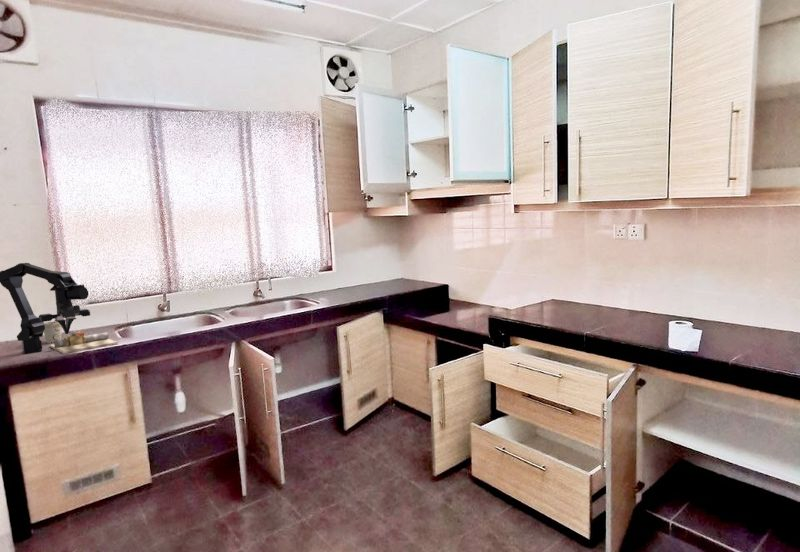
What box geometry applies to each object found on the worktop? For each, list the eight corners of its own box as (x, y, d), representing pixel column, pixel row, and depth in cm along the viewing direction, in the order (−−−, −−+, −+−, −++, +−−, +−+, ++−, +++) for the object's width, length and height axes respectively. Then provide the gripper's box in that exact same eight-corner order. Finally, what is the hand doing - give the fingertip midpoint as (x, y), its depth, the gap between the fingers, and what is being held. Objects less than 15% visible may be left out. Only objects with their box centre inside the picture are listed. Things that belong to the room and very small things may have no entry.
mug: (49, 344, 239) (46, 324, 238) (36, 342, 245) (34, 323, 245) (67, 340, 246) (65, 321, 246) (54, 339, 253) (52, 320, 252)
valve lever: (70, 334, 232) (70, 330, 231) (76, 333, 233) (76, 329, 233) (78, 337, 223) (78, 333, 223) (84, 336, 225) (84, 332, 224)
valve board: (63, 353, 217) (62, 341, 216) (50, 346, 233) (48, 335, 232) (117, 344, 233) (116, 332, 233) (101, 338, 249) (100, 328, 249)
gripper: (43, 304, 208) (46, 339, 209) (92, 298, 222) (95, 332, 223) (36, 302, 215) (40, 336, 217) (85, 297, 229) (88, 329, 230)
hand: (66, 333), depth 221 cm, fingers closed
